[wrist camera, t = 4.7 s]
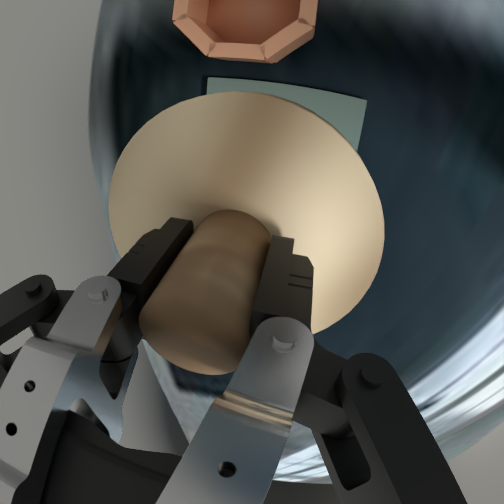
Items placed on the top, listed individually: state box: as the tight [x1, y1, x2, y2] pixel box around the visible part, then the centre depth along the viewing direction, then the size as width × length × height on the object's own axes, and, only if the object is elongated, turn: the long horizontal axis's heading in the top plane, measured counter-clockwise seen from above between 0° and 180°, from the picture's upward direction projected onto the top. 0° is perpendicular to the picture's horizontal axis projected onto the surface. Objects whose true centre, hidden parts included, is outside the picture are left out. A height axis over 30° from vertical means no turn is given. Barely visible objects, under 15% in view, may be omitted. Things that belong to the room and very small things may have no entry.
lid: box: [108, 91, 384, 375], centre depth 9 cm, size 10×10×6 cm
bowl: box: [172, 0, 318, 64], centre depth 15 cm, size 9×9×4 cm
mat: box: [207, 77, 367, 152], centre depth 23 cm, size 12×12×1 cm
